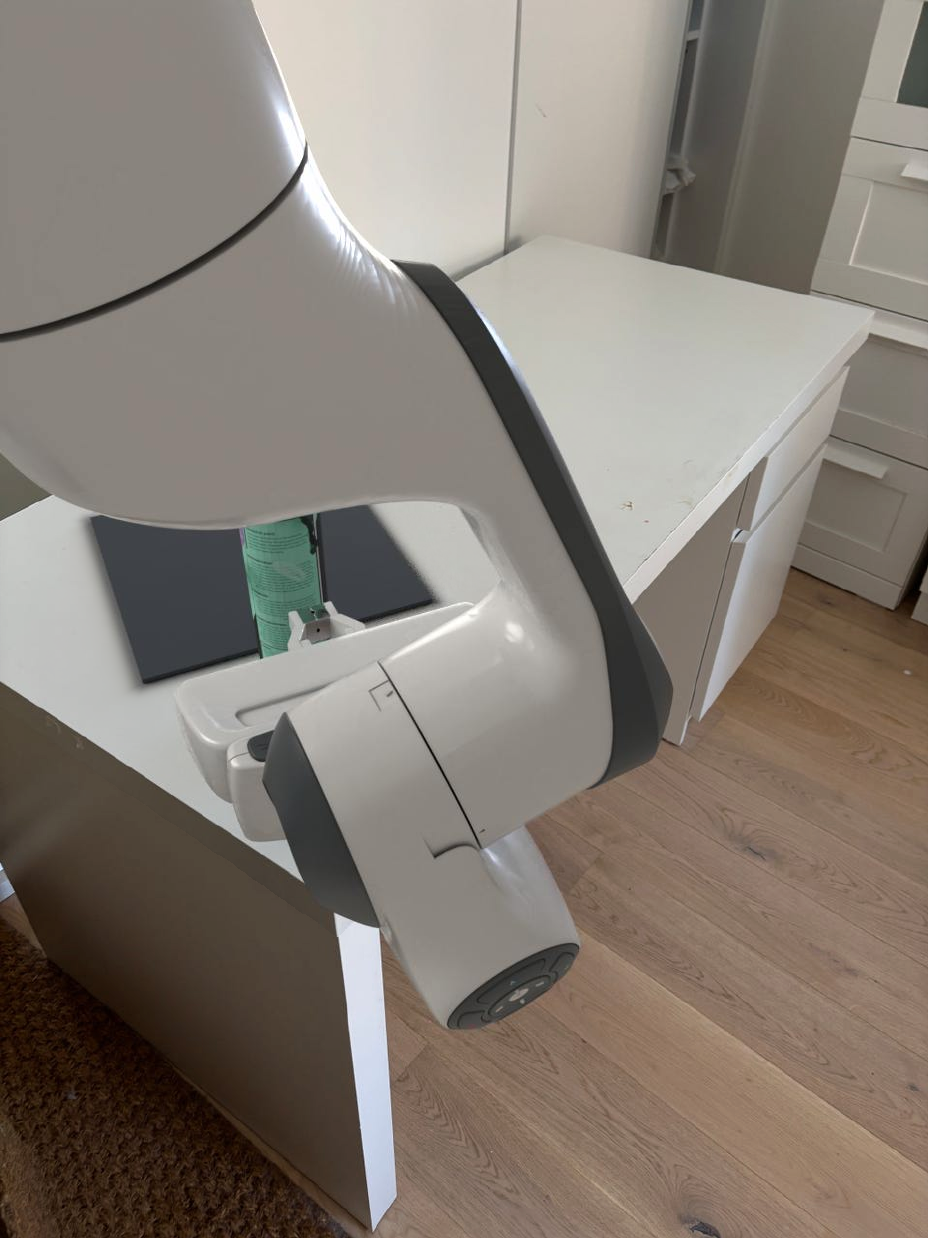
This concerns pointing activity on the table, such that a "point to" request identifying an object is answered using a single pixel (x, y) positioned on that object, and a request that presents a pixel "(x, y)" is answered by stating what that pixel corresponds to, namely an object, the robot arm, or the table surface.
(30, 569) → the table surface
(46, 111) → the robot arm
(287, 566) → the spray can
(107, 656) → the table surface
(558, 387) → the table surface
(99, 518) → the mat
